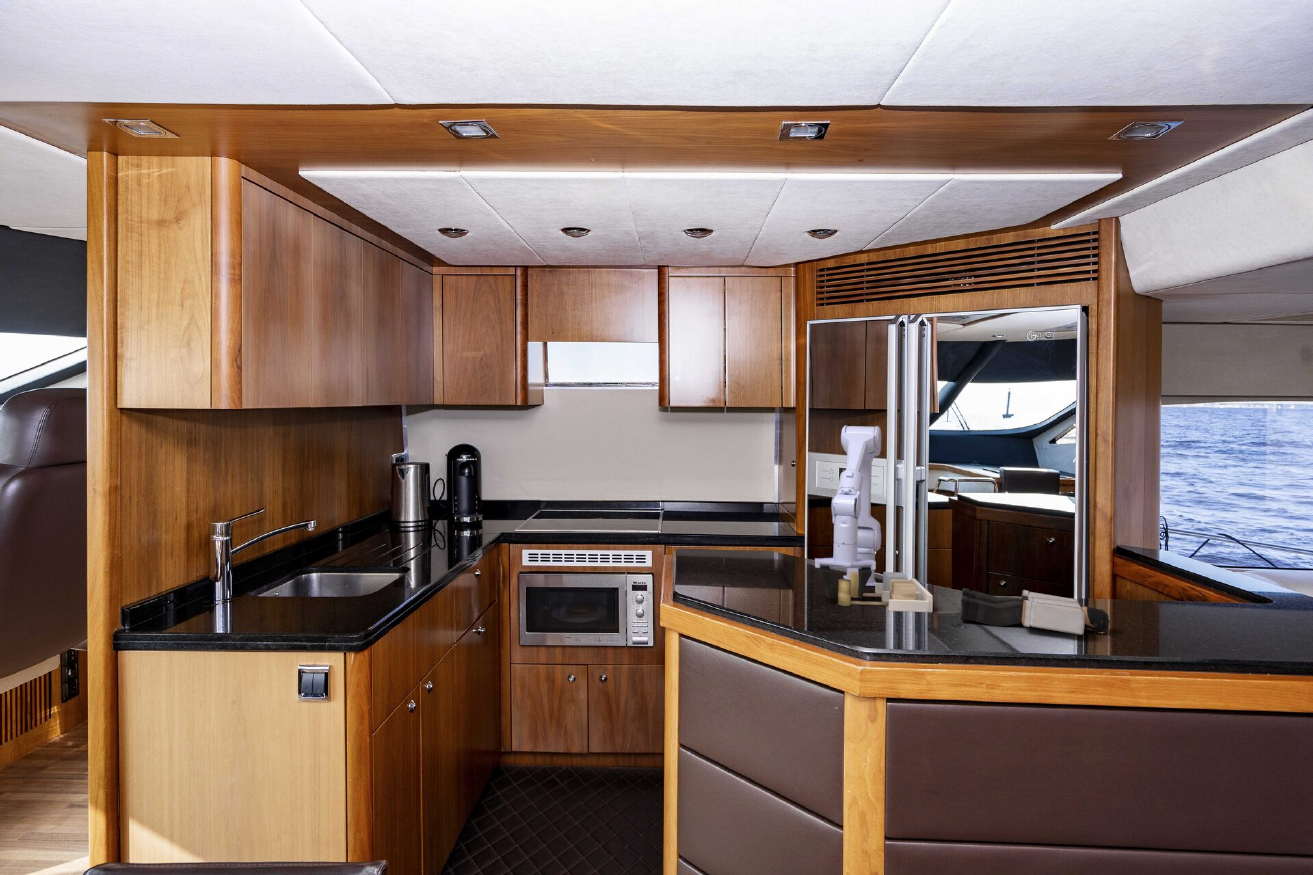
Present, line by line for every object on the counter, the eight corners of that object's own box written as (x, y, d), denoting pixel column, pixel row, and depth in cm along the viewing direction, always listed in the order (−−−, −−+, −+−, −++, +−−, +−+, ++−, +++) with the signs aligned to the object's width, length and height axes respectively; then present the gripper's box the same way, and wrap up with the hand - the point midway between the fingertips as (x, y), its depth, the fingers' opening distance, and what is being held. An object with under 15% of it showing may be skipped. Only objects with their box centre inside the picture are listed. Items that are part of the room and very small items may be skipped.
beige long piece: (836, 601, 183) (837, 577, 183) (910, 603, 182) (910, 580, 181) (839, 606, 179) (840, 582, 178) (915, 609, 177) (915, 584, 177)
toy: (958, 625, 163) (1115, 648, 150) (960, 594, 163) (1117, 614, 150) (962, 609, 180) (1103, 628, 168) (964, 580, 180) (1105, 597, 168)
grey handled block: (847, 593, 191) (848, 570, 191) (902, 595, 190) (903, 572, 189) (850, 598, 186) (851, 575, 186) (906, 600, 185) (907, 576, 184)
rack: (875, 592, 192) (875, 577, 192) (914, 593, 191) (914, 578, 191) (889, 610, 175) (889, 594, 175) (932, 612, 174) (932, 595, 174)
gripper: (817, 544, 177) (816, 600, 177) (878, 546, 175) (877, 602, 176) (814, 539, 184) (813, 592, 184) (873, 540, 182) (871, 594, 183)
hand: (844, 596), depth 181 cm, fingers open, 7 cm apart
